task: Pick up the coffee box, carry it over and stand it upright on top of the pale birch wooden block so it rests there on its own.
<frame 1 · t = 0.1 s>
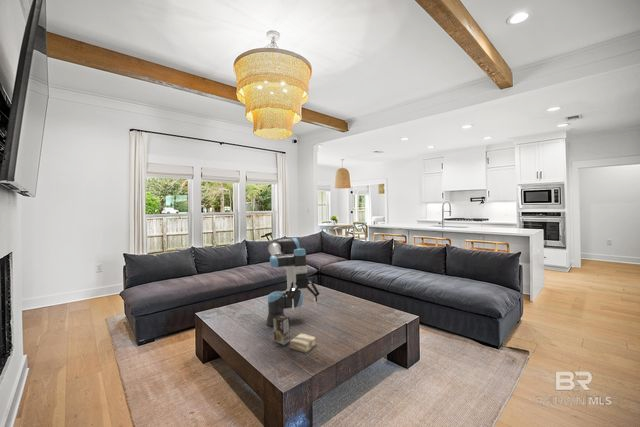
hand: (304, 308, 172), 28 cm above the table, tool tilted 20°, fingers open, 13 cm apart
birch block: (303, 346, 182), on the table
coffee box: (282, 341, 189), on the table
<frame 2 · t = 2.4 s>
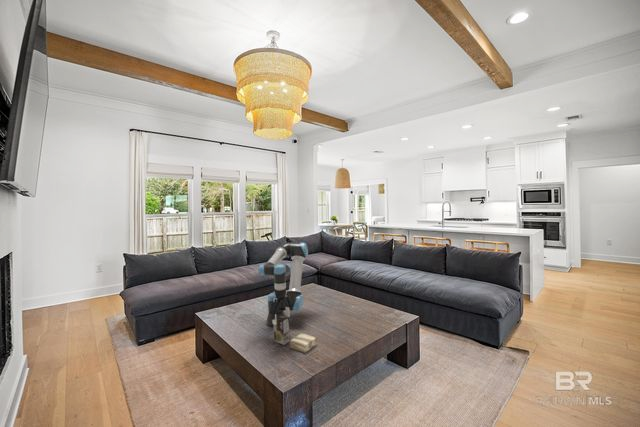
hand: (281, 320, 188), 14 cm above the table, tool pointing down, fingers open, 13 cm apart
nothing on the table moved.
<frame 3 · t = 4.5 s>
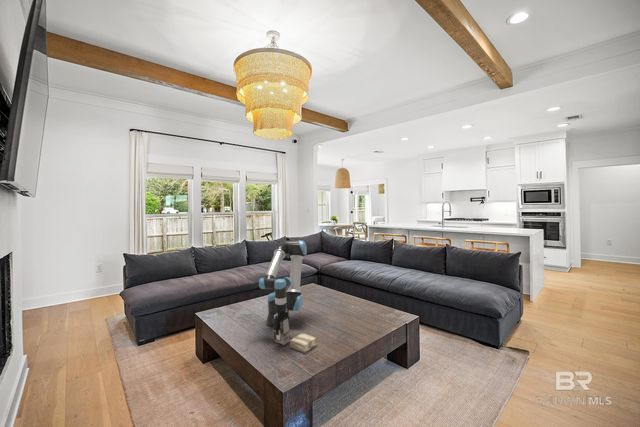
hand: (282, 336, 189), 3 cm above the table, tool pointing down, fingers closed on coffee box, 6 cm apart
coffee box: (282, 341, 189), on the table, touching gripper
everything else where it was.
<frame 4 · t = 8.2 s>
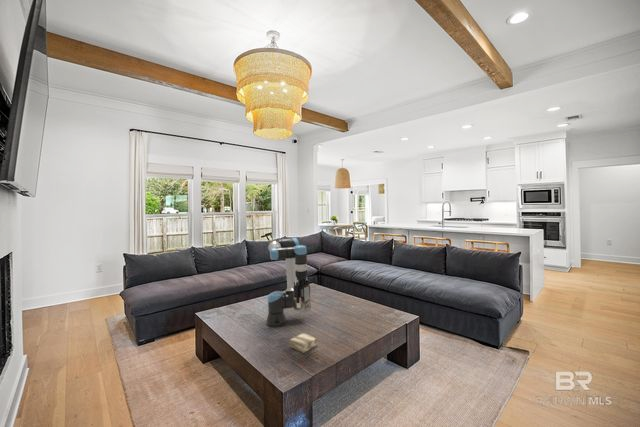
hand: (302, 305, 181), 27 cm above the table, tool pointing down, fingers closed on coffee box, 6 cm apart
coffee box: (302, 310, 181), point 23 cm above the table, touching gripper
everything else where it was.
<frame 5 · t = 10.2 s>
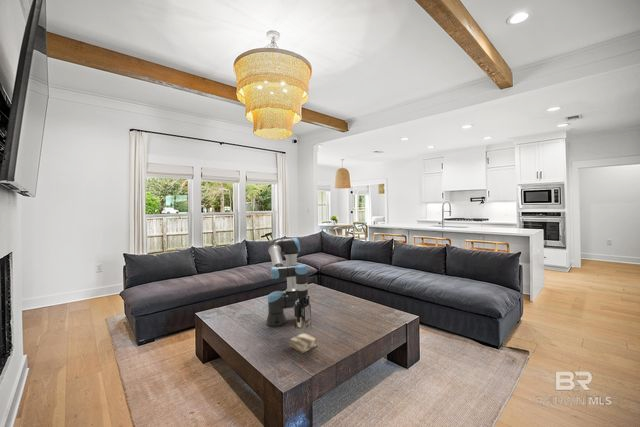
hand: (302, 324, 181), 14 cm above the table, tool pointing down, fingers closed on coffee box, 6 cm apart
coffee box: (303, 329, 181), point 11 cm above the table, touching gripper
everything else where it was.
when the fingers open (9 cm above the table, at t = 12.0 s): coffee box drops 2 cm, resting on birch block.
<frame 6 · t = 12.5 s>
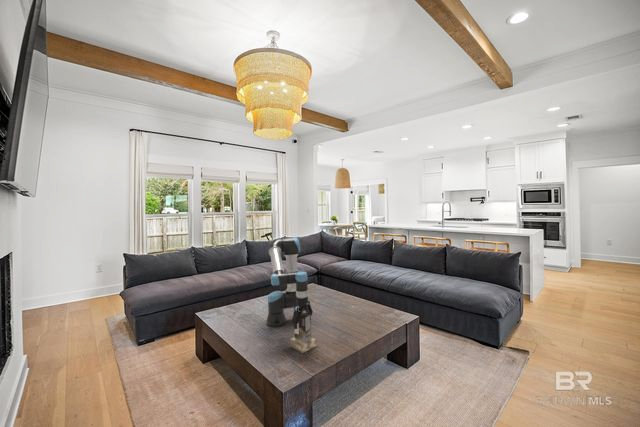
hand: (303, 329, 181), 11 cm above the table, tool pointing down, fingers open, 13 cm apart
birch block: (303, 346, 182), on the table, touching coffee box
coffee box: (303, 339, 182), point 4 cm above the table, touching birch block
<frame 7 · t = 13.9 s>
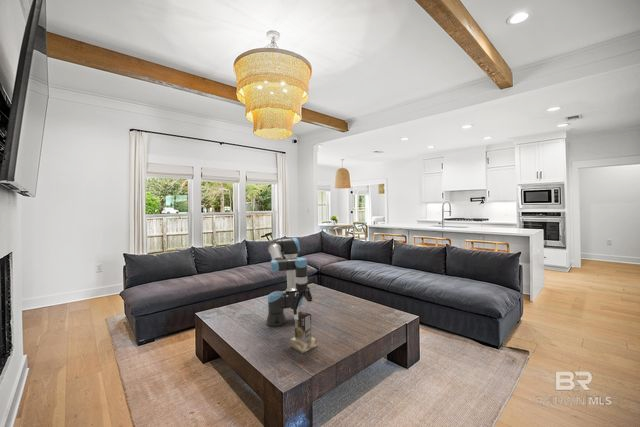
hand: (302, 315, 181), 20 cm above the table, tool pointing down, fingers open, 13 cm apart
nothing on the table moved.
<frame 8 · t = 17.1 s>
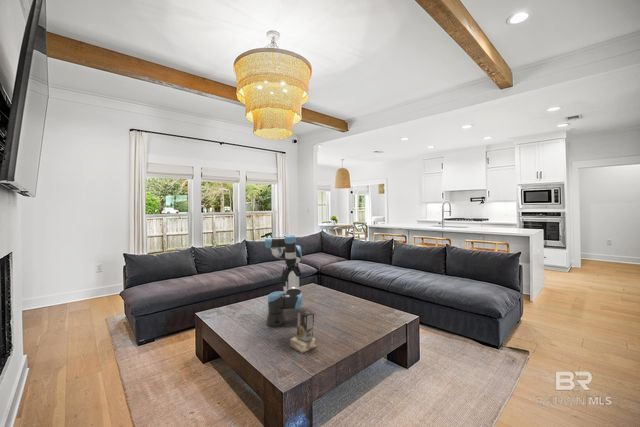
hand: (291, 288, 197), 33 cm above the table, tool pointing down, fingers open, 13 cm apart
birch block: (303, 346, 182), on the table
coffee box: (304, 338, 182), point 5 cm above the table
at the end: coffee box inside the target area on the birch block (1.0 cm from its centre), point 5.2 cm above the birch block's base; coffee box tilted 7°; the gripper is holding nothing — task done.
